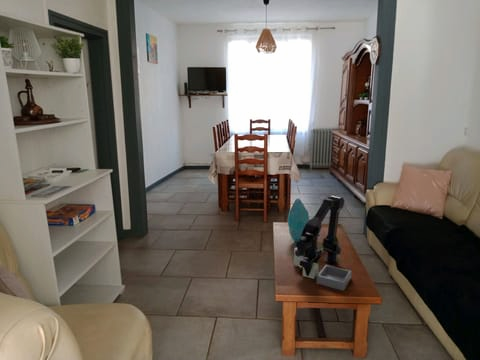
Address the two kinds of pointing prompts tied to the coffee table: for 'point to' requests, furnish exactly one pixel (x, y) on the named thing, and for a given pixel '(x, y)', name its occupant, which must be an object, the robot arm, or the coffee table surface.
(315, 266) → the sage crate
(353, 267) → the coffee table surface
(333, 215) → the robot arm
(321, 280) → the grey crate
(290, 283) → the coffee table surface
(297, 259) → the small box
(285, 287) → the coffee table surface
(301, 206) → the teal pointed ovoid
